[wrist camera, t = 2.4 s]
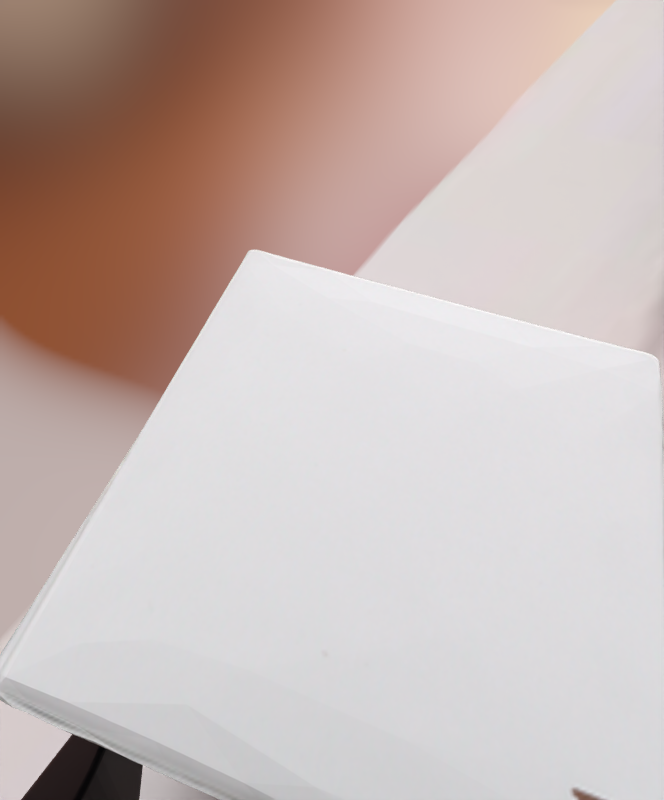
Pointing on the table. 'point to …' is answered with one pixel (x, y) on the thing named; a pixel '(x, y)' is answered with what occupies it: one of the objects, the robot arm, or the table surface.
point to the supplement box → (371, 559)
